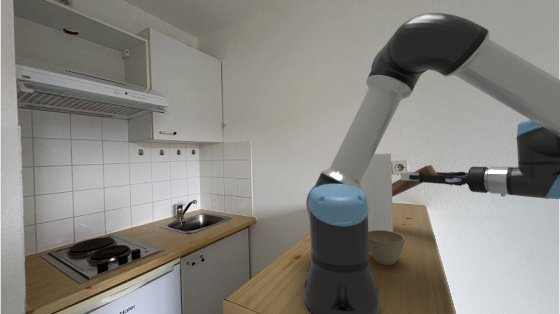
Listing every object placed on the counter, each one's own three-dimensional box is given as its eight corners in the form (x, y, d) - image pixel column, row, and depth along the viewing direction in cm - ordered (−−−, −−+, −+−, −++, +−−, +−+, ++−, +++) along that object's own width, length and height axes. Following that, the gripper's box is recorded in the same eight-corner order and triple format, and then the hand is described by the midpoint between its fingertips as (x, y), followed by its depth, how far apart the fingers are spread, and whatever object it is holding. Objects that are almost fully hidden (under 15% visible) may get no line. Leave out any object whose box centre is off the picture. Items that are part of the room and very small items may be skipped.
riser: (376, 245, 74) (374, 154, 74) (342, 233, 85) (340, 154, 85) (393, 238, 80) (390, 153, 79) (359, 228, 91) (357, 154, 91)
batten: (433, 176, 74) (425, 165, 75) (376, 203, 91) (371, 194, 93) (438, 175, 76) (431, 165, 78) (382, 201, 93) (377, 192, 95)
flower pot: (367, 251, 70) (366, 228, 70) (403, 256, 65) (403, 232, 65) (363, 265, 61) (363, 239, 61) (406, 273, 56) (405, 244, 56)
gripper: (479, 197, 59) (392, 188, 78) (497, 189, 69) (416, 183, 88) (478, 168, 59) (391, 167, 78) (496, 165, 69) (415, 164, 88)
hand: (404, 175), depth 83 cm, fingers closed on batten, 4 cm apart
